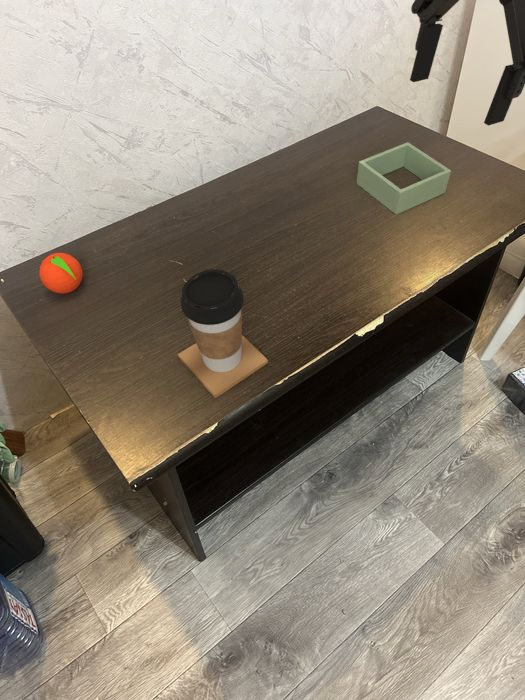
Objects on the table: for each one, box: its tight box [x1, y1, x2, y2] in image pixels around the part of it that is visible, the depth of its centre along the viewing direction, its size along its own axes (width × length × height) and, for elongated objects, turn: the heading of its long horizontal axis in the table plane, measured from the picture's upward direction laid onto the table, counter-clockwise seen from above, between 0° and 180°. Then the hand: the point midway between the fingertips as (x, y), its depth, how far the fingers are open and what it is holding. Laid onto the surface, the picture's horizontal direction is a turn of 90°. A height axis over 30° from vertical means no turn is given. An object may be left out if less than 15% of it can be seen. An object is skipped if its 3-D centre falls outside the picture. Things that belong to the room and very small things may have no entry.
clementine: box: [39, 252, 84, 294], centre depth 86 cm, size 8×7×7 cm
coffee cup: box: [180, 268, 245, 372], centre depth 71 cm, size 8×8×15 cm
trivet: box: [177, 334, 269, 399], centre depth 77 cm, size 10×10×1 cm
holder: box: [356, 142, 452, 216], centre depth 100 cm, size 13×13×5 cm
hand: (454, 100), depth 65 cm, fingers open, 13 cm apart
